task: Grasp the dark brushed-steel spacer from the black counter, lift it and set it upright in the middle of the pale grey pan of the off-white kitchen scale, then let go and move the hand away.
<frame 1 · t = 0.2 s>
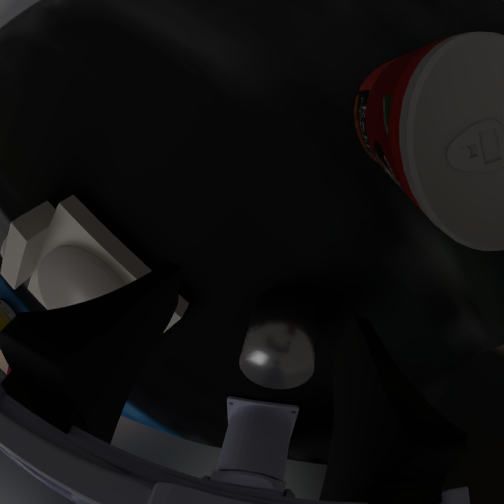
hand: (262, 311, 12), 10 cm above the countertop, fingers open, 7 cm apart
scale: (98, 290, 28), on the countertop
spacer: (284, 311, 25), on the countertop
canned food: (410, 117, 16), on the countertop
supplement bottle: (9, 312, 35), on the countertop
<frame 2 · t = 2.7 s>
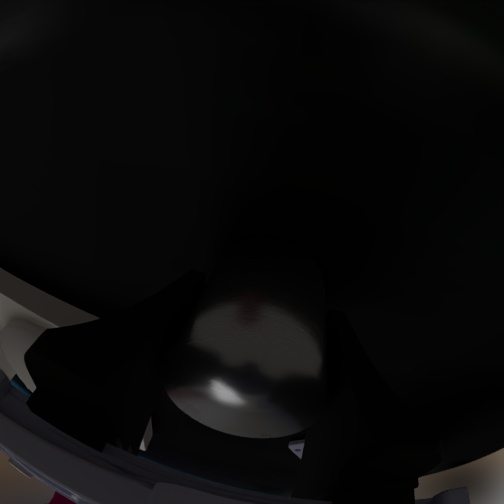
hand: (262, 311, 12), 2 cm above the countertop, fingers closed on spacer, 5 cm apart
scale: (73, 363, 20), on the countertop
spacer: (267, 288, 14), on the countertop, touching gripper
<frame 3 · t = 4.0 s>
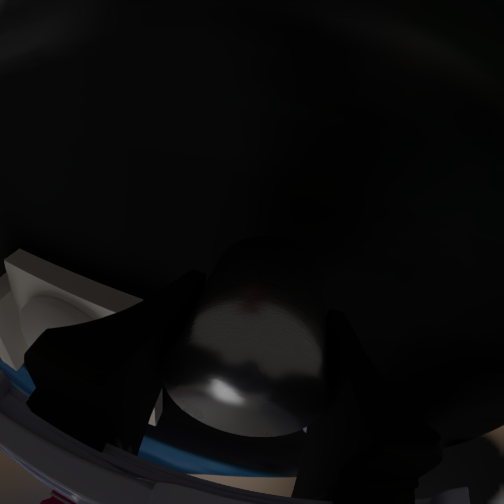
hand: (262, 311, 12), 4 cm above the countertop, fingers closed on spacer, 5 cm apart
scale: (89, 340, 23), on the countertop
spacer: (267, 287, 14), point 3 cm above the countertop, touching gripper
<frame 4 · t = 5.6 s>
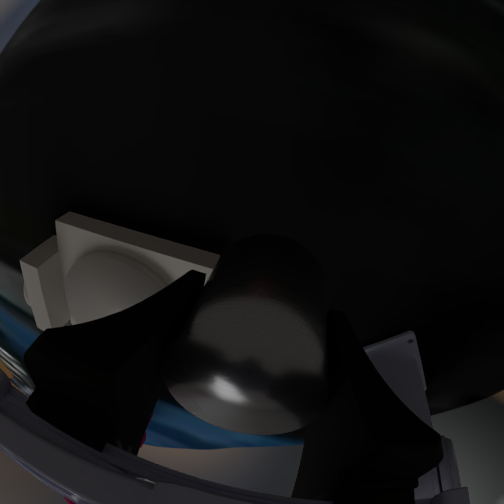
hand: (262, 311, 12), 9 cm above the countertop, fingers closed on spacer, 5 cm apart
scale: (135, 299, 26), on the countertop
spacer: (268, 285, 14), point 8 cm above the countertop, touching gripper
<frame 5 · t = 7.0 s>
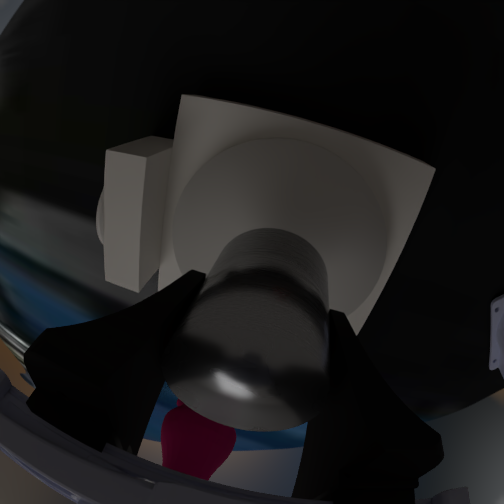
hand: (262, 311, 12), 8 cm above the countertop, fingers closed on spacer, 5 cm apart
scale: (281, 230, 19), on the countertop
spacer: (270, 280, 14), point 6 cm above the countertop, touching gripper
pepper mill: (210, 398, 29), on the countertop
when the fingers open (6 cm above the countertop, at t = 8.5 s): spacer drops 1 cm, resting on scale.
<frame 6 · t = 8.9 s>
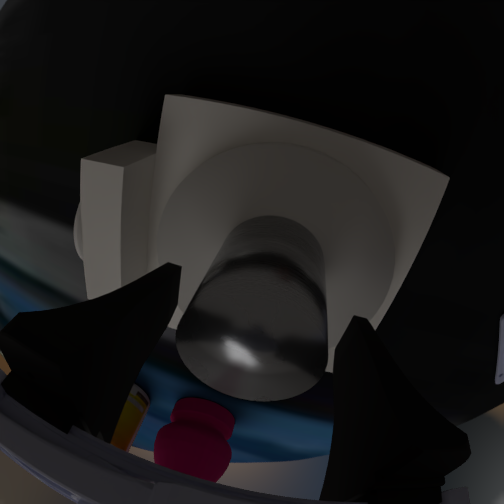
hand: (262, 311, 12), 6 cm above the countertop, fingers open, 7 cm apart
scale: (277, 243, 17), on the countertop
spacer: (271, 264, 15), point 3 cm above the countertop, touching scale
pepper mill: (205, 412, 28), on the countertop
supplement bottle: (129, 389, 29), on the countertop
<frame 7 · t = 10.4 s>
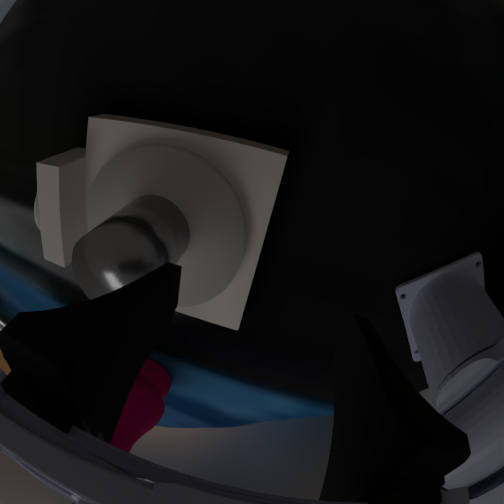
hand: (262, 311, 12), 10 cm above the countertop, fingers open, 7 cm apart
scale: (172, 218, 23), on the countertop
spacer: (155, 230, 20), point 3 cm above the countertop, touching scale
pepper mill: (148, 371, 33), on the countertop
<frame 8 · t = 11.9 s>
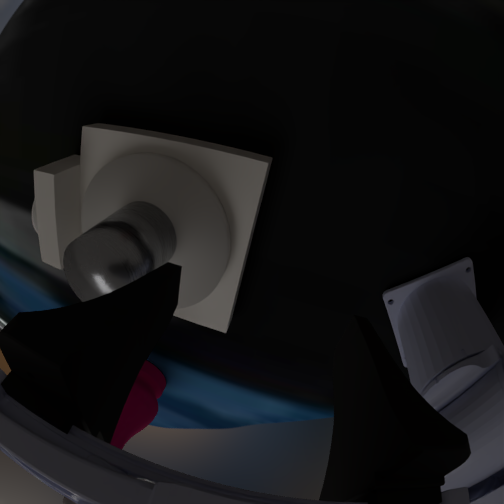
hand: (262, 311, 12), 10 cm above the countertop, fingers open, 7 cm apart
scale: (163, 223, 23), on the countertop
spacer: (144, 235, 21), point 3 cm above the countertop, touching scale
pepper mill: (143, 372, 33), on the countertop
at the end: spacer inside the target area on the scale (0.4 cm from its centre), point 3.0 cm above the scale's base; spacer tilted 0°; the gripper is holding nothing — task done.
